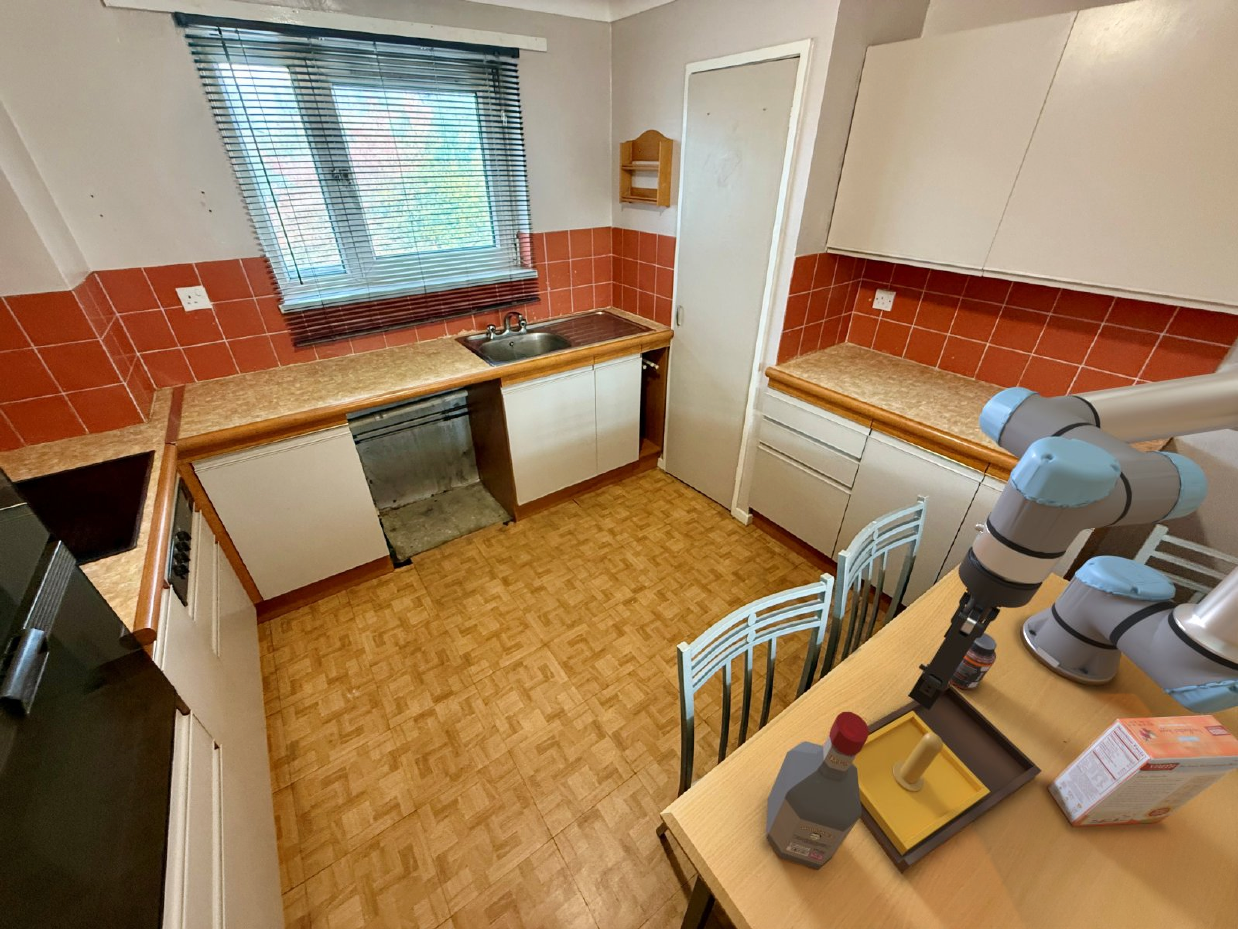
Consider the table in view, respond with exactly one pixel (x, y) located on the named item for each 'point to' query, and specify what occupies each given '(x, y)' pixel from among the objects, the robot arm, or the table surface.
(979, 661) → the supplement bottle
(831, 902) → the table surface
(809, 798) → the liquor
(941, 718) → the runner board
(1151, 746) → the cracker box
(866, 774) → the tray
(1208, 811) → the table surface
